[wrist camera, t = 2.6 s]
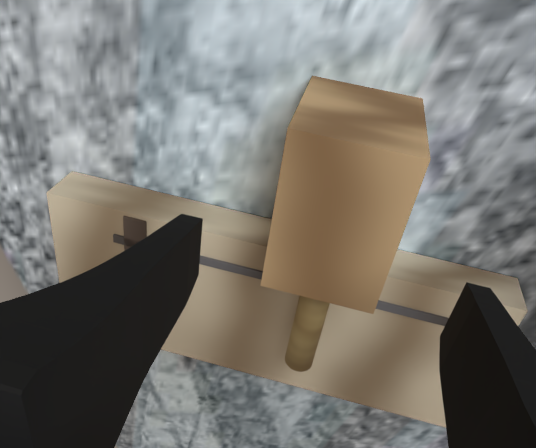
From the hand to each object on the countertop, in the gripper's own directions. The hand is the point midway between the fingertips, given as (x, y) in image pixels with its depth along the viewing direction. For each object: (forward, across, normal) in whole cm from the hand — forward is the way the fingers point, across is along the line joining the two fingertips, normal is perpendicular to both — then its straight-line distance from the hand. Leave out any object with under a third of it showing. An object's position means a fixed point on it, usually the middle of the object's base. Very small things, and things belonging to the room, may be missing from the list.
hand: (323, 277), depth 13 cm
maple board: (+7, +2, +8) cm, 11 cm away
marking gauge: (+7, 0, +2) cm, 8 cm away
